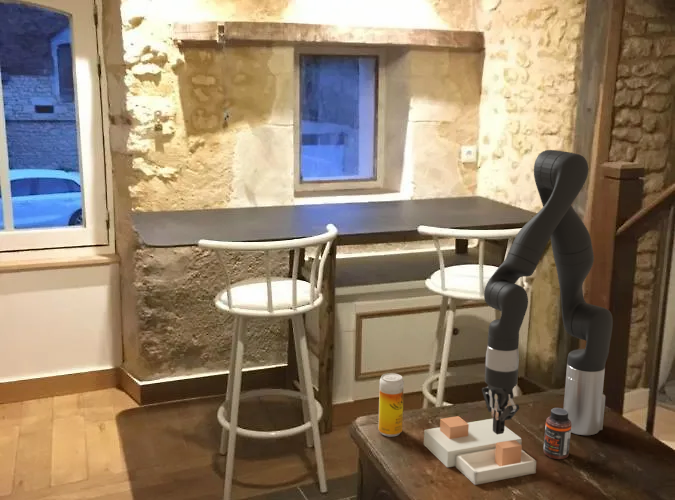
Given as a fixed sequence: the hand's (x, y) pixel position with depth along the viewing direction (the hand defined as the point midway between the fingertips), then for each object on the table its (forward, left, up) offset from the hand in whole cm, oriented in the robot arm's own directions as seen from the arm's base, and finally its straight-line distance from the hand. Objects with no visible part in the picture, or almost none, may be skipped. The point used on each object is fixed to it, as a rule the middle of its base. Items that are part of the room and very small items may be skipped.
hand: (498, 432), depth 179 cm
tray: (+4, +6, -6) cm, 9 cm away
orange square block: (+8, -7, -2) cm, 11 cm away
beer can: (+19, -20, -6) cm, 28 cm away
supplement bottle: (-14, +4, -6) cm, 16 cm away
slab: (+4, -5, -6) cm, 9 cm away
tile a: (0, +4, -3) cm, 5 cm away
